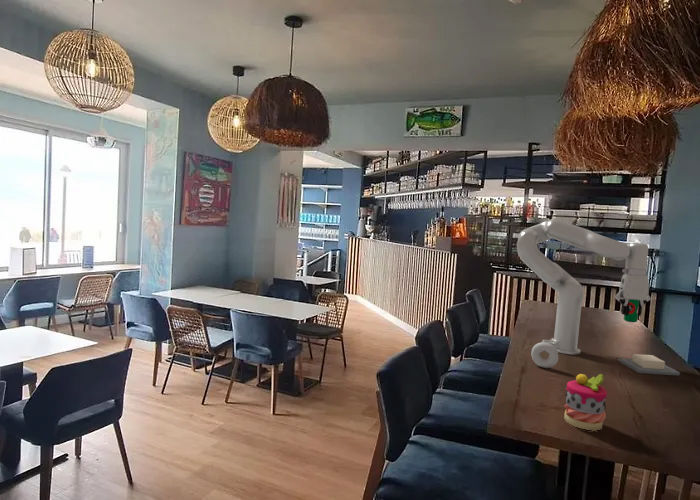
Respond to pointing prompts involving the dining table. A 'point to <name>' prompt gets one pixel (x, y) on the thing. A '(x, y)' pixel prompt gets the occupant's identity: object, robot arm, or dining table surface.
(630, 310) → the soda can
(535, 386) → the dining table surface
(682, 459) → the dining table surface
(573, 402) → the cake
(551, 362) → the donut
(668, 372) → the build base
